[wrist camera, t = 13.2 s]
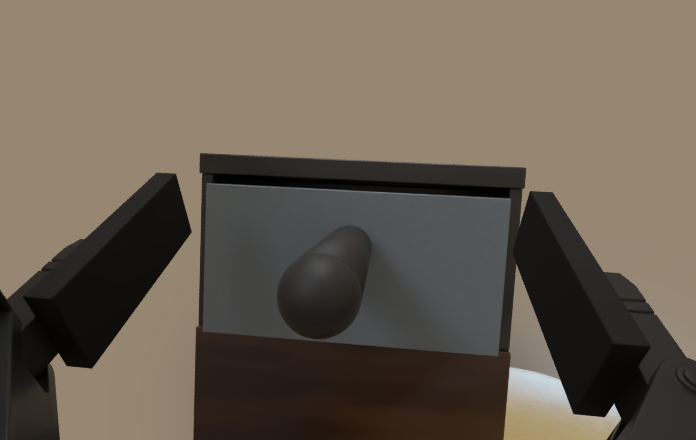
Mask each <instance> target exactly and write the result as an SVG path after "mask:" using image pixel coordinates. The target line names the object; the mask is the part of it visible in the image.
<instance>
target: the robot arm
mask: <svg viewBox="0 0 696 440" xmlns="http://www.w3.org/2000/svg"><path fill="white" fill-rule="evenodd" d="M191 232H192V231H191V228H190V224H189V220H188V217H187V213H186V210H185V206H184V203H183V199H182V195H181V191H180V187H179V184H178V180H177V176H176V174H169V173H156V174H155V175H154V176H153V177H152V178H151V179H149V180H148V181H147V182H146V183H145V184H144V185H143V186H142V187H141V188H140V189H139V190H138V191H137V192H136V193H134V194H133V195H132V196H131V197H130V198H129V199H128V200H127V201H126V202H125V203H123V204H122V205H121V206H120V207H119V208H118V209H117V210H116V211H115V212H114V213H113V214H112V215H111V216H109V217H108V218H107V219H106V220H105V221H104V222H103V223H102V224H101V225H100V226H99V227H97V228H96V229H95V230H94V231H93V232H92V233H91V234H90V235H89V236H88V237H87V238H86V239H80V240H78V241H77V242H75V243H73V244H71V245H69V246H67V247H66V248H64V249H63V250H62V251H61V252H59V253H58V254H57V255H56V256H55V257H54V258H53V259H52V261H51V262H48V263H47V264H46V265H45V266H44V267H43V268H42V270H41V271H38V272H37V273H36V274H35V275H34V276H33V277H31V278H30V279H29V280H28V281H27V282H26V283H25V284H24V285H23V286H22V287H20V288H19V289H18V290H17V291H16V292H15V293H14V294H13V295H11V296H10V297H9V298H8V299H6V298H5V296H4V295H3V293H2V292H1V290H0V440H60V437H59V426H58V413H57V400H56V388H55V376H54V370H53V368H52V366H51V365H50V362H51V361H52V360H53V358H54V357H55V356H56V355H57V354H58V353H59V354H60V356H61V357H62V359H63V361H64V362H65V364H66V365H67V366H73V367H82V368H93V366H94V365H95V364H96V362H97V361H98V360H99V358H100V357H101V356H102V354H103V353H104V352H105V350H106V349H107V347H108V346H109V345H110V343H111V342H112V341H113V339H114V338H115V336H116V335H117V334H118V332H119V331H120V330H121V328H122V327H123V326H124V324H125V323H126V321H127V320H128V319H129V317H130V316H131V314H132V313H133V312H134V310H135V309H136V308H137V306H138V305H139V304H140V302H141V301H142V300H143V298H144V297H145V295H146V294H147V292H148V291H149V290H150V288H151V287H152V286H153V284H154V283H155V282H156V280H157V279H158V277H159V276H160V275H161V274H162V272H163V271H164V269H165V268H166V267H167V265H168V264H169V263H170V261H171V260H172V258H173V257H174V256H175V254H176V253H177V252H178V250H179V249H180V248H181V246H182V245H183V243H184V242H185V241H186V239H187V238H188V237H189V235H190V234H191ZM512 253H513V256H514V258H515V261H516V264H517V266H518V269H519V272H520V274H521V277H522V279H523V282H524V285H525V287H526V290H527V293H528V295H529V298H530V300H531V303H532V306H533V308H534V311H535V313H536V316H537V319H538V322H539V324H540V327H541V329H542V332H543V335H544V337H545V340H546V343H547V345H548V348H549V350H550V353H551V356H552V359H553V361H554V364H555V366H556V369H557V371H558V374H559V377H560V380H561V382H562V385H563V388H564V390H565V393H566V395H567V398H568V401H569V403H570V406H571V409H572V411H573V414H578V415H588V416H599V417H605V416H606V415H607V413H608V412H609V410H610V409H611V407H612V406H613V404H615V406H616V408H617V410H618V413H619V415H620V417H621V420H620V422H619V423H618V424H617V426H616V427H615V429H614V430H613V432H612V433H611V434H610V436H609V437H608V439H607V440H696V361H694V360H692V359H689V358H687V357H686V356H685V355H684V353H683V352H682V350H681V349H680V348H679V346H678V345H677V343H676V342H675V341H674V339H673V338H672V336H671V335H670V334H669V332H668V331H667V330H666V328H665V326H664V325H663V324H662V322H661V321H660V320H659V318H658V317H657V315H654V311H653V310H652V308H651V307H650V305H649V304H648V303H646V300H645V298H644V297H643V295H642V294H641V293H640V291H639V290H638V288H637V287H636V286H635V285H634V284H632V283H631V282H630V281H629V280H627V279H626V278H625V277H624V276H622V275H621V274H620V273H608V272H607V273H606V272H603V271H602V269H601V267H600V266H599V264H598V263H597V261H596V260H595V258H594V256H593V255H592V253H591V252H590V250H589V249H588V247H587V246H586V244H585V242H584V241H583V239H582V238H581V236H580V234H579V233H578V231H577V230H576V228H575V227H574V225H573V224H572V222H571V220H570V219H569V217H568V216H567V214H566V213H565V211H564V210H563V208H562V206H561V205H560V203H559V202H558V200H557V199H556V197H555V195H554V194H553V193H552V192H535V191H530V193H529V197H528V200H527V203H526V207H525V210H524V214H523V217H522V220H521V224H520V227H519V230H518V234H517V237H516V241H515V244H514V247H513V251H512Z"/></svg>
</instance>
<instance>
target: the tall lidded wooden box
mask: <svg viewBox="0 0 696 440" xmlns="http://www.w3.org/2000/svg"><path fill="white" fill-rule="evenodd" d="M200 173H203V174H202V206H201V247H200V248H201V249H200V289H199V326H197V327H196V353H195V395H194V397H195V398H194V439H193V440H503V439H504V427H505V415H506V403H507V391H508V379H509V367H510V355H511V354H510V352H509V351H508V350H509V345H510V344H509V343H510V333H511V332H510V331H511V319H512V308H513V296H514V283H515V272H516V261H515V258H514V256H513V253H512V251H513V247H514V244H515V241H516V237H517V234H518V230H519V224H520V213H521V201H522V189H524V187H525V177H526V168H522V167H500V166H476V165H455V164H432V163H410V162H387V161H364V160H363V161H362V160H342V159H320V158H297V157H295V158H294V157H275V156H253V155H251V156H250V155H230V154H207V153H201V154H200ZM207 183H212V184H231V185H251V186H270V187H290V188H310V189H329V190H349V191H368V192H388V193H407V194H427V195H446V196H466V197H486V198H505V199H511V207H510V219H509V231H508V244H507V256H506V268H505V281H504V293H503V305H502V318H501V330H500V342H499V354H498V356H486V355H474V354H462V353H450V352H438V351H426V350H414V349H403V348H391V347H379V346H367V345H355V344H343V343H331V342H320V341H308V340H296V339H284V338H272V337H260V336H248V335H237V334H225V333H213V332H203V299H204V258H205V217H206V184H207Z"/></svg>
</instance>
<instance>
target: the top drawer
mask: <svg viewBox="0 0 696 440" xmlns="http://www.w3.org/2000/svg"><path fill="white" fill-rule="evenodd" d="M510 207H511V199H505V198H486V197H466V196H446V195H427V194H407V193H388V192H368V191H349V190H329V189H310V188H290V187H270V186H251V185H231V184H212V183H207V184H206V217H205V258H204V299H203V332H213V333H225V334H237V335H248V336H260V337H272V338H284V339H296V340H308V341H320V342H331V343H343V344H355V345H367V346H379V347H391V348H403V349H414V350H426V351H438V352H450V353H462V354H474V355H486V356H498V354H499V342H500V330H501V318H502V305H503V293H504V281H505V268H506V256H507V244H508V231H509V219H510Z"/></svg>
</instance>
